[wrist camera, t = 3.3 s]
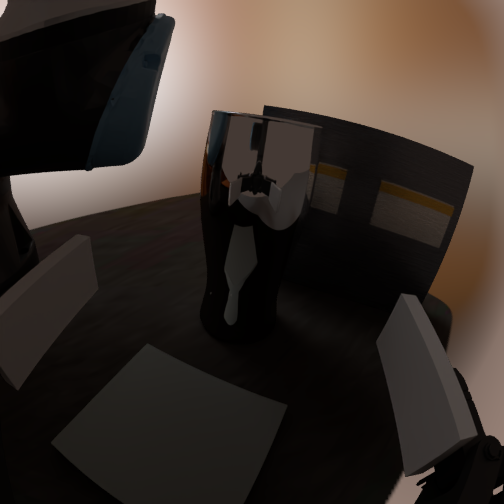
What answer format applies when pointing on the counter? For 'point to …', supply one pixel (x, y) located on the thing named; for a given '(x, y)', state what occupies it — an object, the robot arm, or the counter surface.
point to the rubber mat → (171, 434)
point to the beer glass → (252, 217)
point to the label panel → (376, 213)
